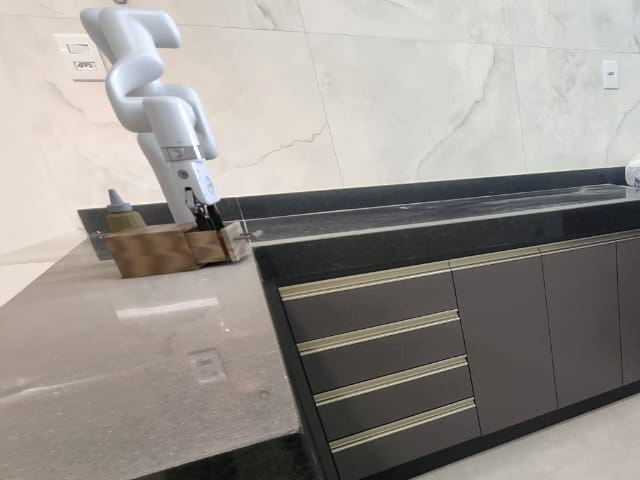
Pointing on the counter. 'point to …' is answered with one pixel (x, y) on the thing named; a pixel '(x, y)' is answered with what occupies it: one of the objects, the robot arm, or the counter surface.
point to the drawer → (219, 243)
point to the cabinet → (152, 250)
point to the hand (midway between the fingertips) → (213, 232)
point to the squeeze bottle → (121, 214)
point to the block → (223, 244)
